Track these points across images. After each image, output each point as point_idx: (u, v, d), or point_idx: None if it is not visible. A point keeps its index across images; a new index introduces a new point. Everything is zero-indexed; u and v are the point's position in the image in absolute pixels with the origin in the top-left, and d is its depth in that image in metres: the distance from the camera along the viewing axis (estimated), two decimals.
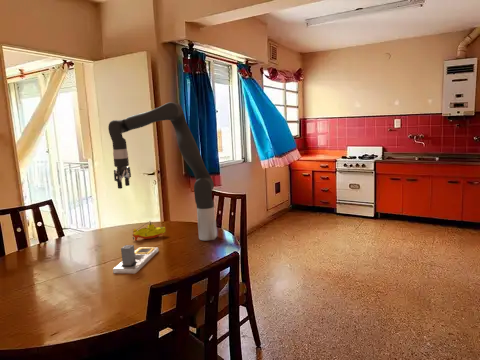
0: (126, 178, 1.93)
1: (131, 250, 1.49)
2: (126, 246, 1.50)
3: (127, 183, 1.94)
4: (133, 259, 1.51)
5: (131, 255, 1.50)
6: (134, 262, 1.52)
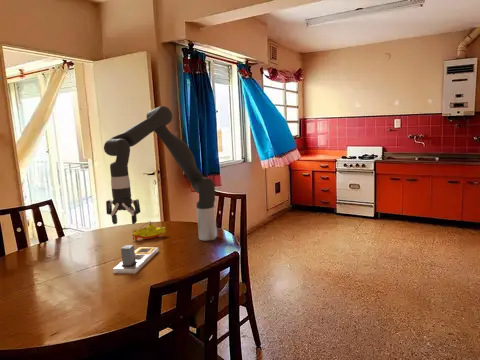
0: (114, 214, 1.49)
1: (131, 250, 1.49)
2: (126, 246, 1.50)
3: (115, 220, 1.49)
4: (133, 259, 1.51)
5: (131, 255, 1.50)
6: (134, 262, 1.52)
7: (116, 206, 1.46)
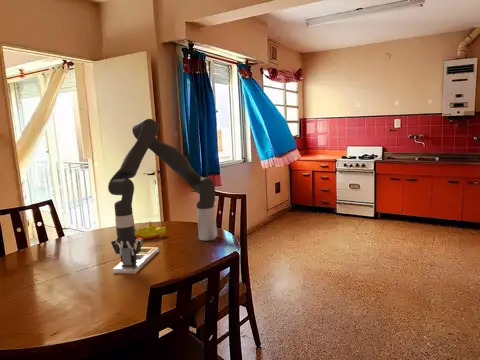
0: None
1: None
2: None
3: None
4: None
5: (131, 255, 1.50)
6: None
7: (121, 244, 1.48)
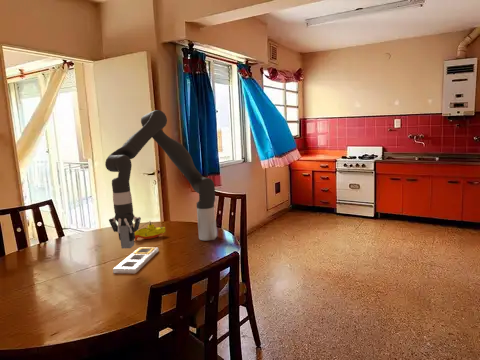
0: None
1: None
2: None
3: None
4: None
5: None
6: None
7: (119, 222, 1.47)
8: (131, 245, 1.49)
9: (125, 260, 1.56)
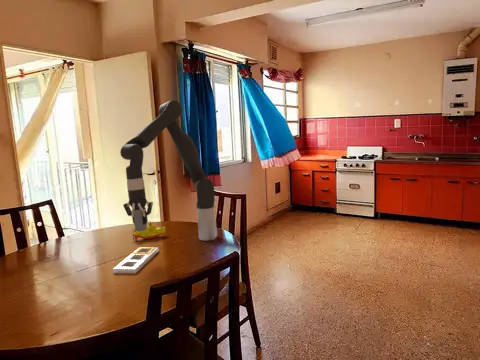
0: None
1: None
2: None
3: None
4: None
5: None
6: None
7: (133, 206, 1.58)
8: (144, 228, 1.61)
9: (125, 260, 1.56)
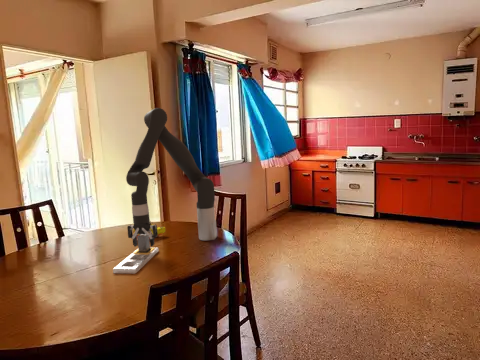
0: (135, 237, 1.66)
1: (146, 238, 1.65)
2: (142, 235, 1.66)
3: (136, 243, 1.67)
4: (148, 246, 1.67)
5: (147, 242, 1.65)
6: (149, 249, 1.68)
7: (136, 230, 1.64)
8: None
9: (125, 260, 1.56)
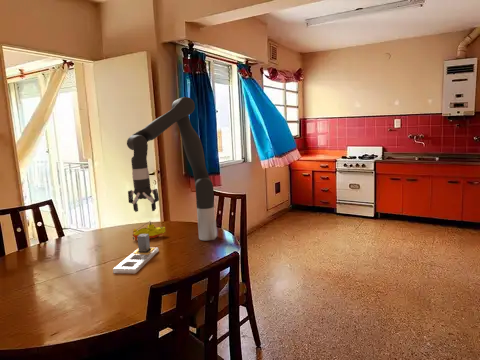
0: (135, 203, 1.66)
1: (146, 238, 1.65)
2: (142, 235, 1.66)
3: (137, 208, 1.67)
4: (148, 246, 1.67)
5: (147, 242, 1.65)
6: (149, 249, 1.68)
7: (137, 195, 1.63)
8: None
9: (125, 260, 1.56)
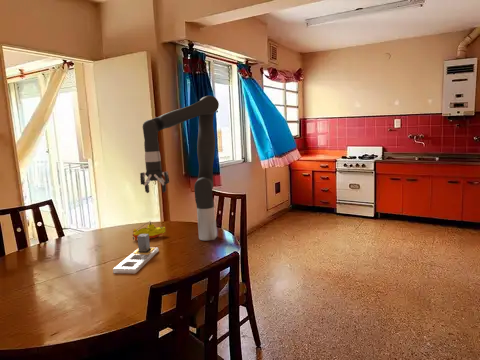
0: (147, 184, 1.75)
1: (146, 238, 1.65)
2: (142, 235, 1.66)
3: (148, 189, 1.76)
4: (148, 246, 1.67)
5: (147, 242, 1.65)
6: (149, 249, 1.68)
7: (149, 177, 1.73)
8: None
9: (125, 260, 1.56)
